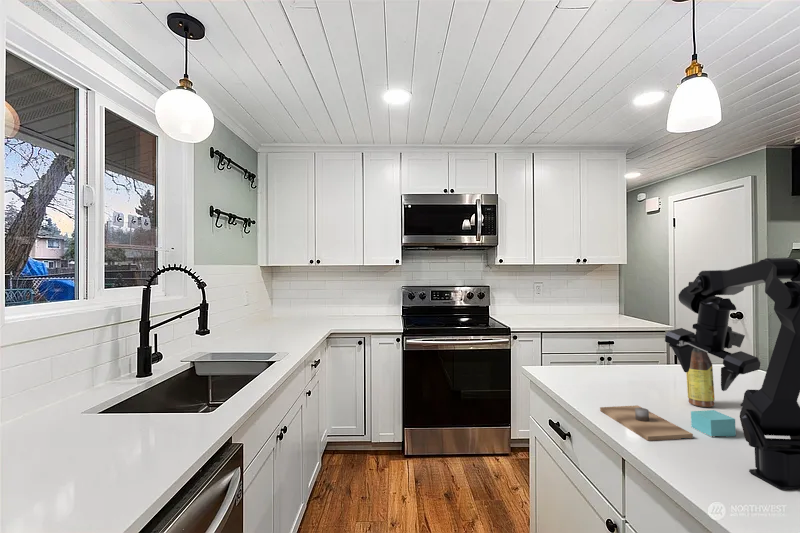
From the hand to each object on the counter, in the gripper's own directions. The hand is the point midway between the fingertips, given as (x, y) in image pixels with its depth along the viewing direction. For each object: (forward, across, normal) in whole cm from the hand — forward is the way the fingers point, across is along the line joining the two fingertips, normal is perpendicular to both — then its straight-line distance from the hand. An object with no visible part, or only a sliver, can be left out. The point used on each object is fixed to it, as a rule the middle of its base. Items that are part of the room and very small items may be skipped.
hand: (704, 380), depth 98 cm
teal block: (+11, -4, +1) cm, 12 cm away
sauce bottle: (+17, +10, -15) cm, 25 cm away
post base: (+12, +6, +12) cm, 18 cm away
